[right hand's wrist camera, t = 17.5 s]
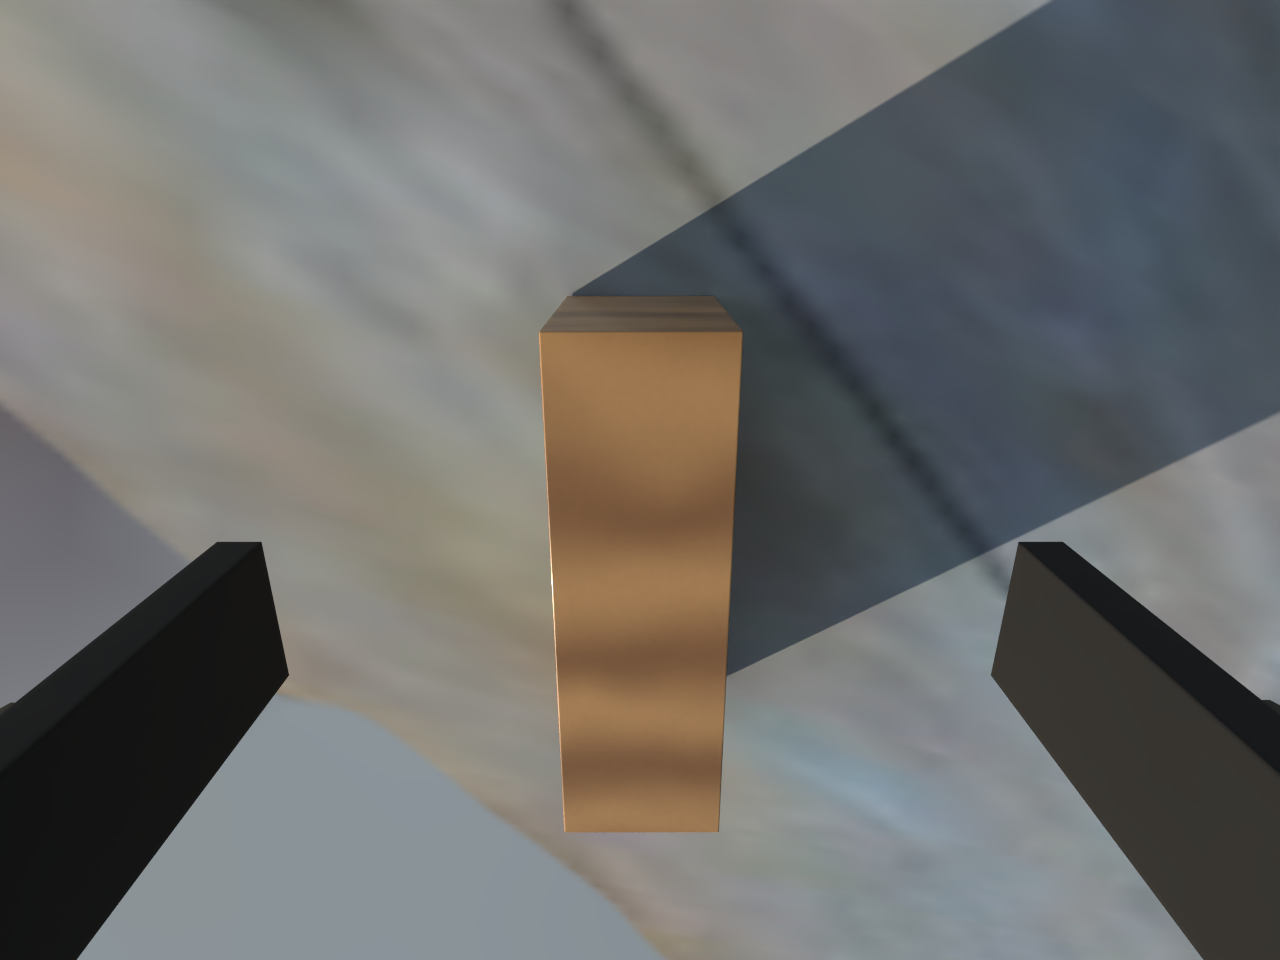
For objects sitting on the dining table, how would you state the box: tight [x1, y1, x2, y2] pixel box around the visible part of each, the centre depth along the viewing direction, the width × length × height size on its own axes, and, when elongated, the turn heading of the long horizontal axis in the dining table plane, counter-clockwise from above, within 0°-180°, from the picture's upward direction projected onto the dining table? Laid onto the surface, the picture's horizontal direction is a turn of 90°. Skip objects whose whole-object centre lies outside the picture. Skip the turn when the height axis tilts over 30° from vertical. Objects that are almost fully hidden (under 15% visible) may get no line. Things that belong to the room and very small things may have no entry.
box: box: [539, 296, 743, 832], centre depth 30 cm, size 20×6×9 cm, turn 0°
